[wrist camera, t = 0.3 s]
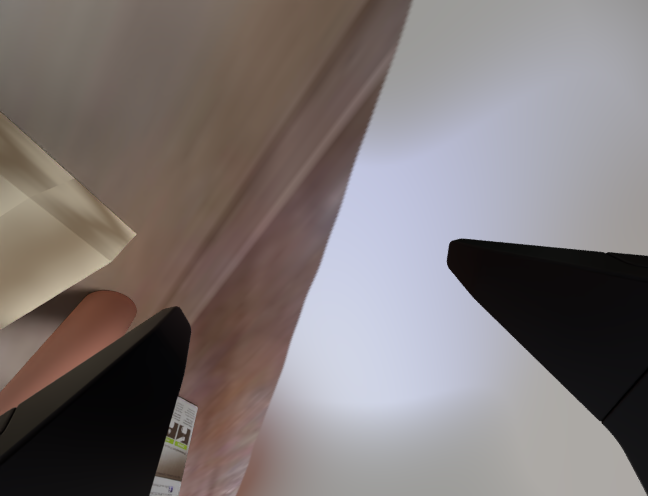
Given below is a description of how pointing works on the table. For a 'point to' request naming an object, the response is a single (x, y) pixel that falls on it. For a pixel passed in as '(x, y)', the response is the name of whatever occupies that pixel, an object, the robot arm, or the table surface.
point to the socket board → (47, 227)
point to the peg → (71, 344)
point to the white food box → (175, 450)
